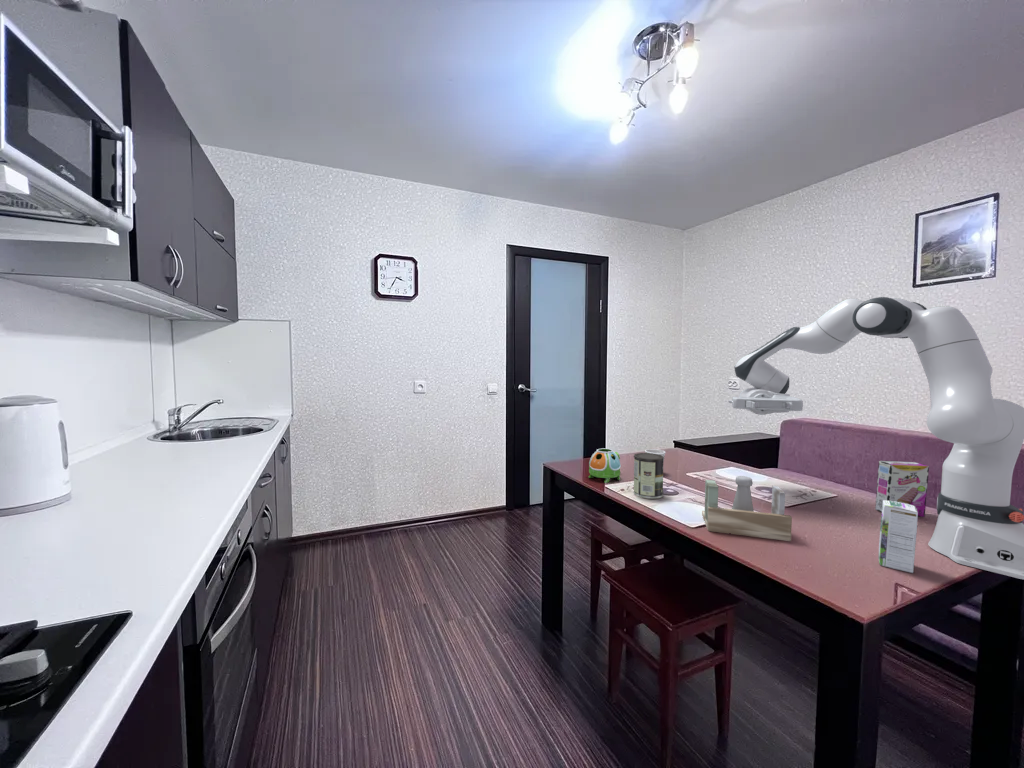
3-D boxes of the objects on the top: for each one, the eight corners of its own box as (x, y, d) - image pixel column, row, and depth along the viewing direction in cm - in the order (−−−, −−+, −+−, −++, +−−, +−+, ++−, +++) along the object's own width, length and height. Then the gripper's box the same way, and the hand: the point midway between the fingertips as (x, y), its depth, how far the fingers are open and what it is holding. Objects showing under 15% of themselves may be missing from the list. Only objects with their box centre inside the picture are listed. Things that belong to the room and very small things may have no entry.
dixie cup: (662, 471, 171) (662, 449, 171) (667, 477, 163) (667, 453, 163) (642, 470, 173) (643, 448, 172) (646, 476, 164) (647, 452, 164)
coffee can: (655, 489, 147) (656, 452, 146) (668, 498, 137) (669, 459, 136) (629, 489, 147) (629, 452, 146) (639, 499, 136) (640, 459, 136)
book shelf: (701, 515, 122) (703, 476, 121) (776, 523, 116) (777, 482, 115) (708, 530, 110) (709, 487, 110) (790, 541, 104) (792, 495, 104)
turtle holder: (631, 475, 165) (631, 448, 164) (609, 485, 152) (609, 455, 151) (605, 470, 174) (605, 443, 173) (582, 478, 161) (582, 450, 160)
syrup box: (877, 556, 96) (880, 498, 95) (911, 564, 92) (915, 504, 92) (879, 565, 92) (882, 505, 91) (915, 574, 88) (918, 511, 87)
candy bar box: (887, 516, 122) (890, 464, 121) (874, 510, 127) (877, 460, 126) (927, 517, 121) (930, 465, 120) (912, 511, 126) (915, 461, 125)
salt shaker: (728, 520, 114) (729, 476, 113) (733, 515, 118) (735, 472, 117) (751, 526, 109) (753, 481, 109) (756, 520, 114) (757, 476, 113)
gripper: (727, 392, 141) (736, 395, 128) (793, 393, 135) (810, 397, 122) (727, 409, 142) (735, 414, 129) (793, 412, 135) (809, 417, 122)
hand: (772, 405), depth 125 cm, fingers open, 8 cm apart
